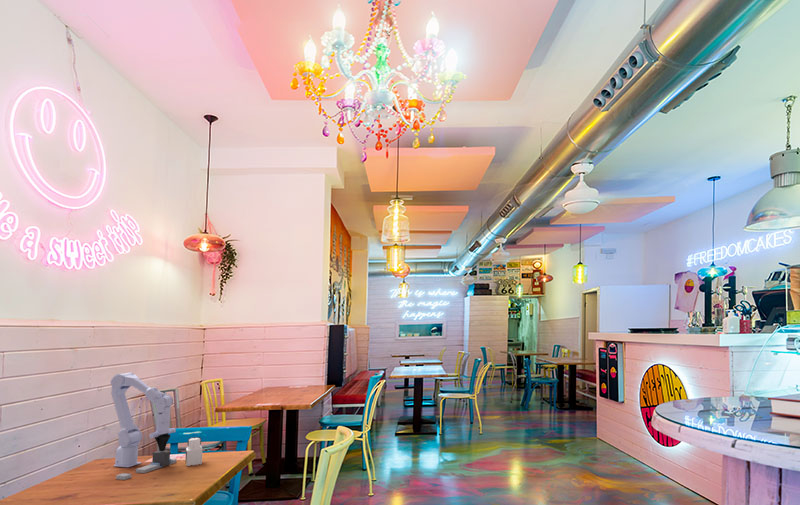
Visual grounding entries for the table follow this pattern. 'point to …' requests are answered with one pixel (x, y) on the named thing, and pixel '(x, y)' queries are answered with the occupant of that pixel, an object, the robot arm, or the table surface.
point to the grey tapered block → (161, 457)
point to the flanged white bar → (143, 470)
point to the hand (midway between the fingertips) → (161, 450)
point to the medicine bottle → (194, 452)
